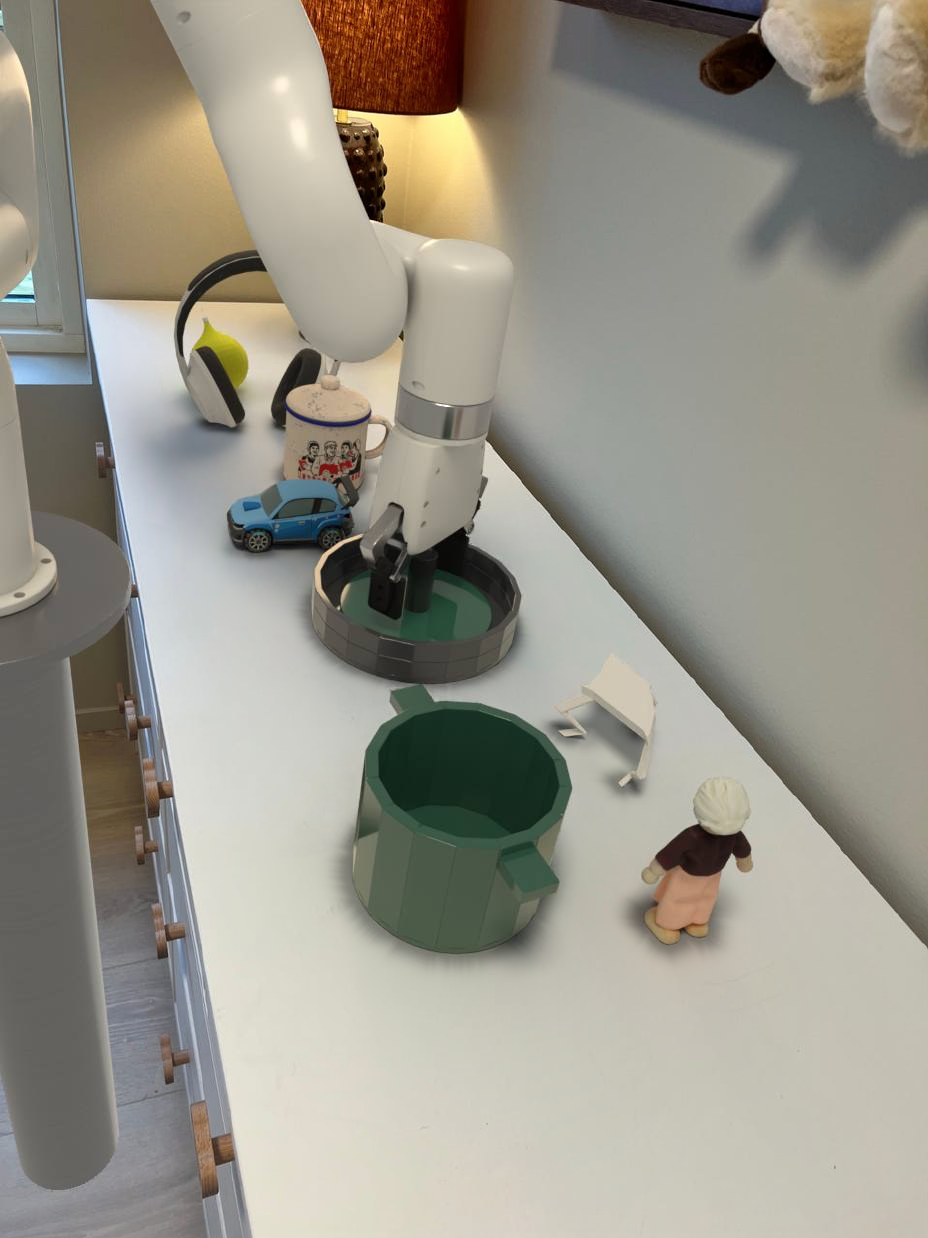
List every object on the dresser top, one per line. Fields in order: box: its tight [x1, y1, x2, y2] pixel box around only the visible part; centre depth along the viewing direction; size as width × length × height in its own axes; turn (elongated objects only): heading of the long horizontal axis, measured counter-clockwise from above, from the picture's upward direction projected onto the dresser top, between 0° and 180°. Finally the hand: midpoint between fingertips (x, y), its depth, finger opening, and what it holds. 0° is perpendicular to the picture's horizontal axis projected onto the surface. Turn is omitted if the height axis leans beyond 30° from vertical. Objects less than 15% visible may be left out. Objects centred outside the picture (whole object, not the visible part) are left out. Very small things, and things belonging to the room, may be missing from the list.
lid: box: [340, 548, 492, 642], centre depth 86 cm, size 14×14×7 cm
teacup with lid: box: [283, 375, 393, 495], centre depth 104 cm, size 12×9×12 cm
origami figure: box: [551, 651, 659, 788], centre depth 76 cm, size 12×8×5 cm
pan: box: [310, 532, 523, 684], centre depth 87 cm, size 18×18×4 cm
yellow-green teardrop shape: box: [190, 306, 249, 390], centre depth 119 cm, size 7×7×10 cm
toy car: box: [226, 475, 360, 553], centre depth 95 cm, size 6×12×6 cm, turn 109°
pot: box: [352, 683, 573, 954], centre depth 62 cm, size 13×18×10 cm
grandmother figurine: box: [640, 776, 754, 945], centre depth 60 cm, size 8×4×13 cm, turn 118°
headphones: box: [173, 249, 342, 428], centre depth 111 cm, size 19×8×20 cm, turn 110°
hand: (417, 589), depth 86 cm, fingers open, 9 cm apart
